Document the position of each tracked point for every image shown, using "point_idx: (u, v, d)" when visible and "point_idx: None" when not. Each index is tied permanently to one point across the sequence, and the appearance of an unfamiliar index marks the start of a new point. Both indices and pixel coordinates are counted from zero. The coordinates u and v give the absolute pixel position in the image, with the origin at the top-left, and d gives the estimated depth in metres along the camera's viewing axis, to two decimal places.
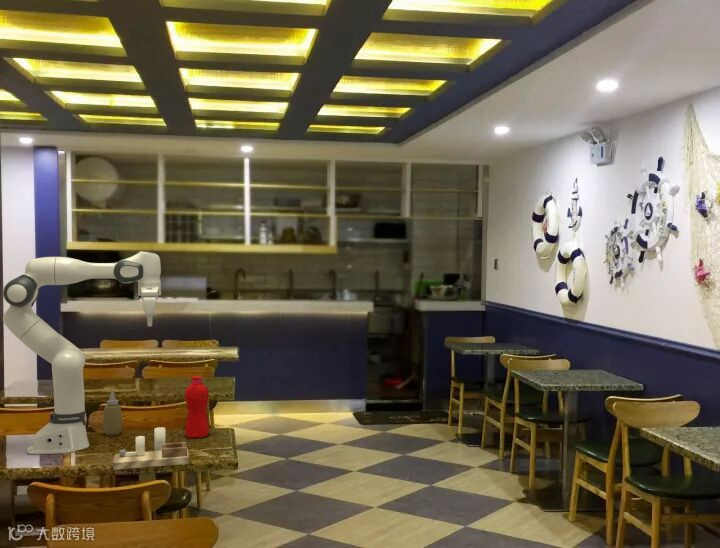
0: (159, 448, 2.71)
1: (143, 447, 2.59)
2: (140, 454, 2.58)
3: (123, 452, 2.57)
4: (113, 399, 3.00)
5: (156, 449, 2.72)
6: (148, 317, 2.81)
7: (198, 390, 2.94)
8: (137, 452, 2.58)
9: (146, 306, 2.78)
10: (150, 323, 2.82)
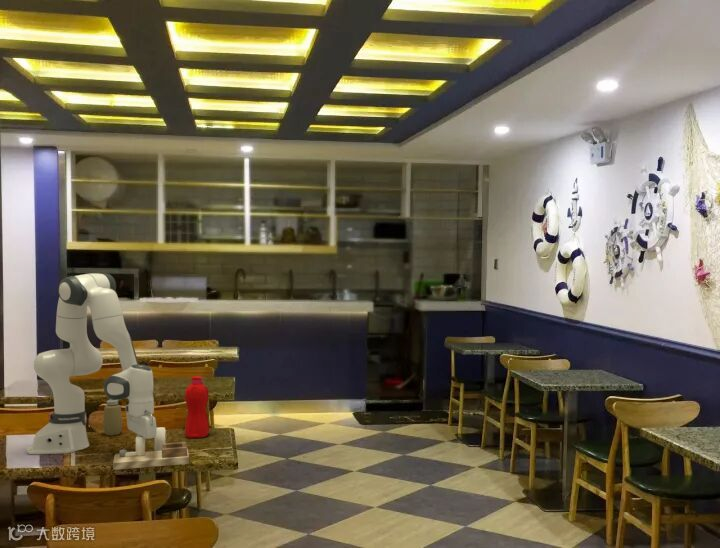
0: (159, 448, 2.71)
1: (143, 447, 2.59)
2: (140, 454, 2.58)
3: (123, 452, 2.57)
4: None
5: (156, 449, 2.72)
6: None
7: (198, 390, 2.94)
8: (137, 452, 2.58)
9: None
10: None
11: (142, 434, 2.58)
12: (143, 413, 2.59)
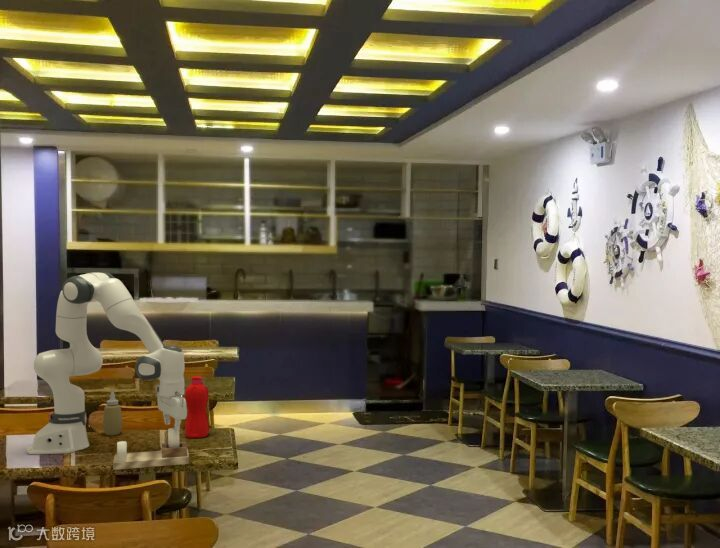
0: None
1: (118, 453, 2.51)
2: (117, 459, 2.52)
3: None
4: (113, 399, 3.00)
5: None
6: None
7: (198, 390, 2.94)
8: None
9: None
10: None
11: (172, 415, 2.58)
12: (174, 394, 2.59)
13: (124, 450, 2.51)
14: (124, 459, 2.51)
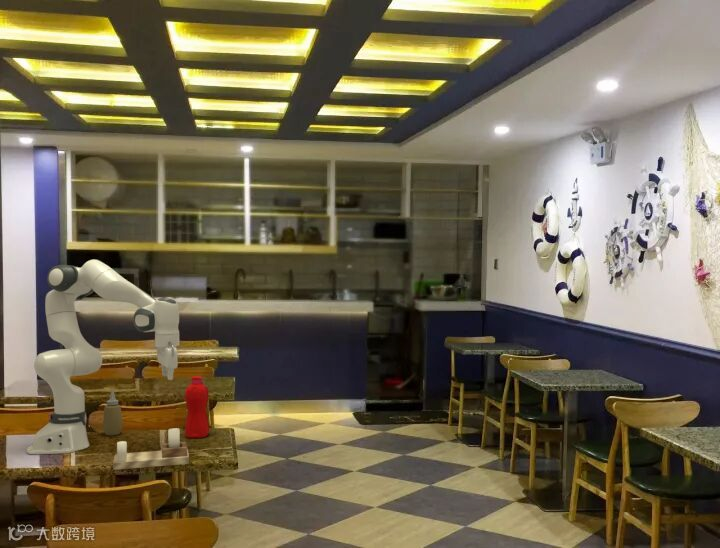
0: None
1: (118, 453, 2.51)
2: (117, 459, 2.52)
3: None
4: (113, 399, 3.00)
5: None
6: None
7: (198, 390, 2.94)
8: None
9: None
10: None
11: (165, 365, 2.63)
12: (167, 345, 2.64)
13: (124, 450, 2.51)
14: (124, 459, 2.51)
